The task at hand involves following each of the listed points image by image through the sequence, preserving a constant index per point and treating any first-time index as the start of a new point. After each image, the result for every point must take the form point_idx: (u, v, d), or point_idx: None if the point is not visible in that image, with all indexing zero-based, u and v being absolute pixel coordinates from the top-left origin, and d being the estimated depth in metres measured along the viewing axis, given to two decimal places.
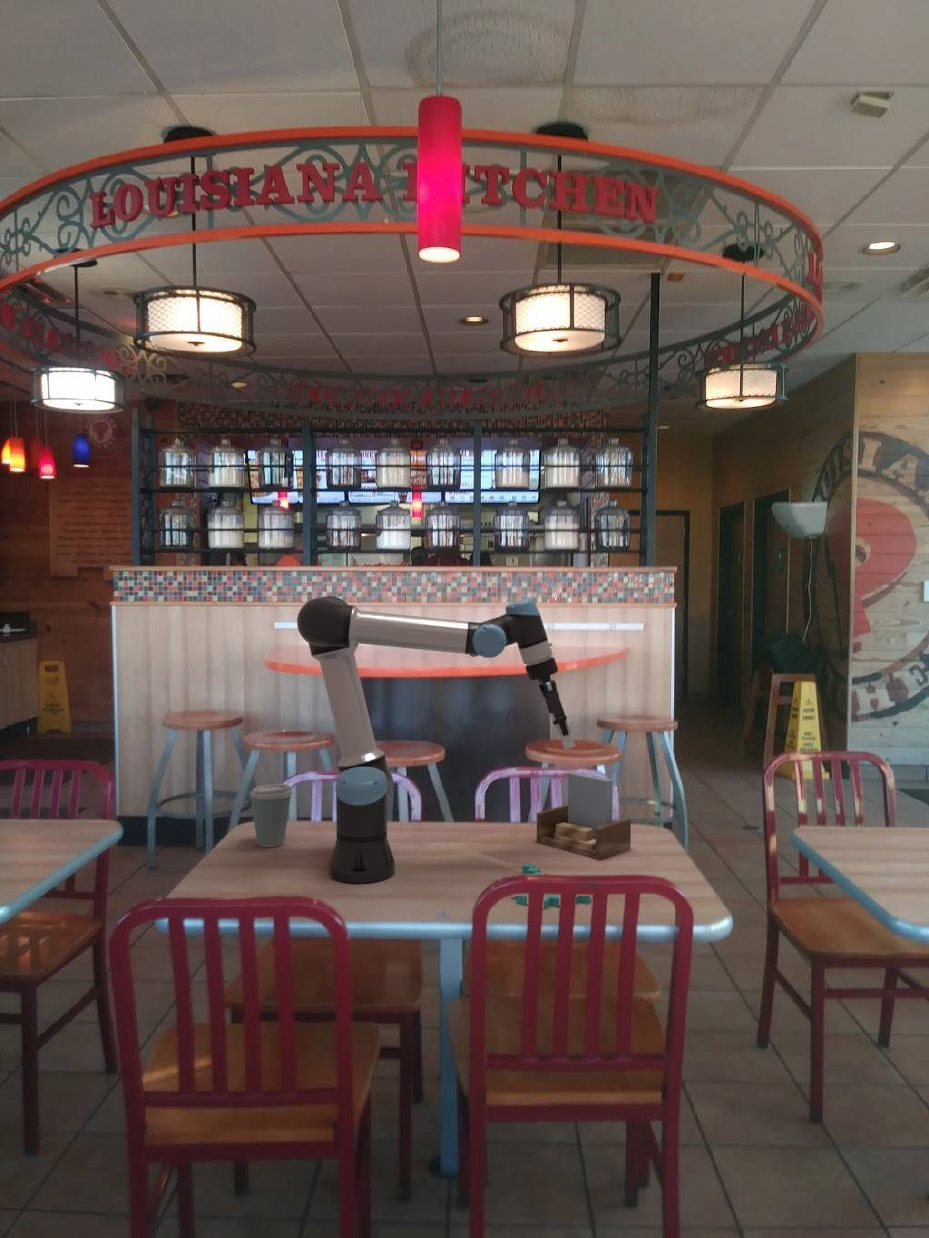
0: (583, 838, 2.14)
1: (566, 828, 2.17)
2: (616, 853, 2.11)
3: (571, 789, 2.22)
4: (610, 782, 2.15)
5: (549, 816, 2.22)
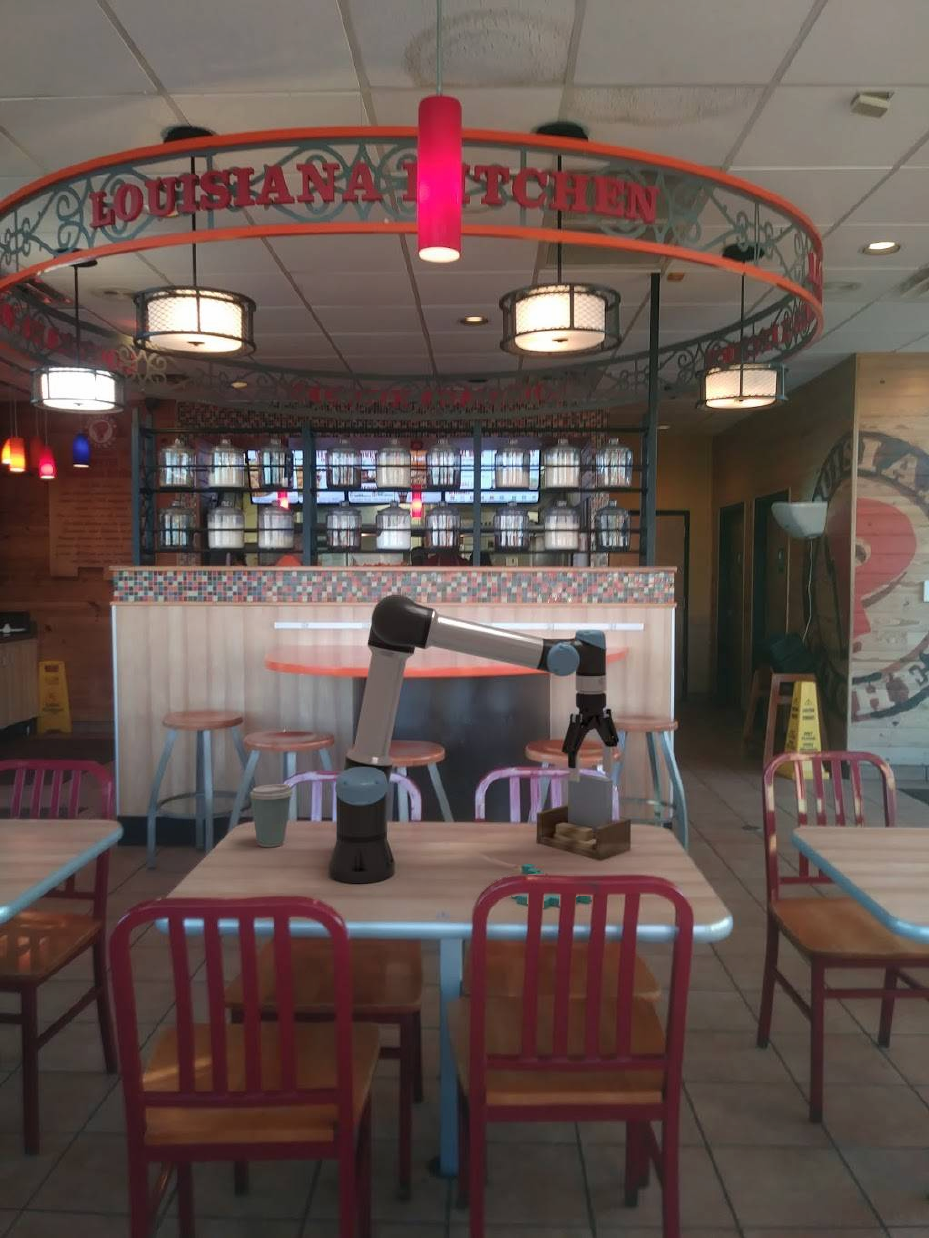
0: (583, 838, 2.14)
1: (566, 828, 2.17)
2: (616, 853, 2.11)
3: (571, 789, 2.22)
4: (610, 782, 2.15)
5: (549, 816, 2.22)
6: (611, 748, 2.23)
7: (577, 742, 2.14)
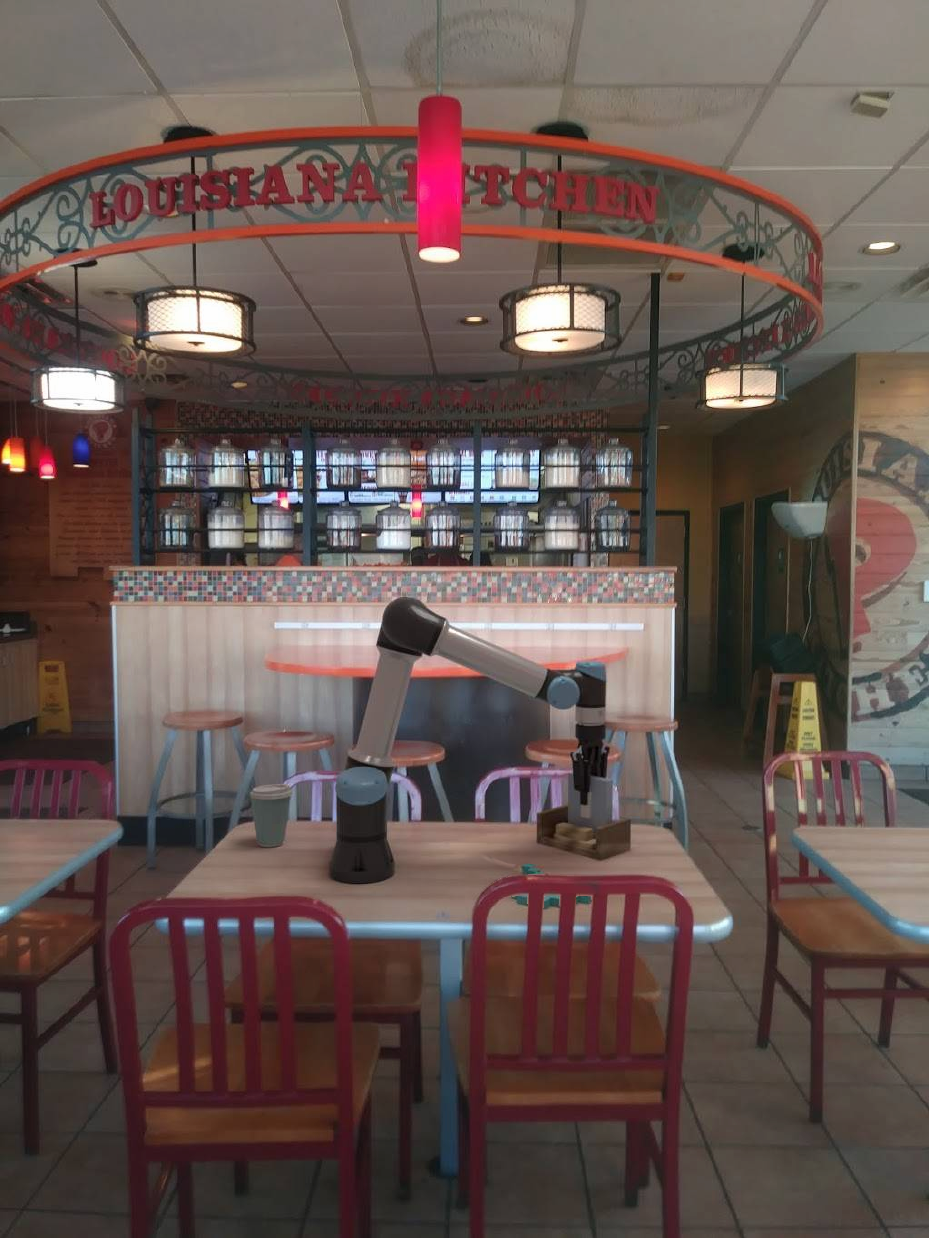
0: (583, 838, 2.14)
1: (566, 828, 2.17)
2: (616, 853, 2.11)
3: (571, 789, 2.22)
4: (610, 782, 2.15)
5: (549, 816, 2.22)
6: None
7: (585, 779, 2.17)
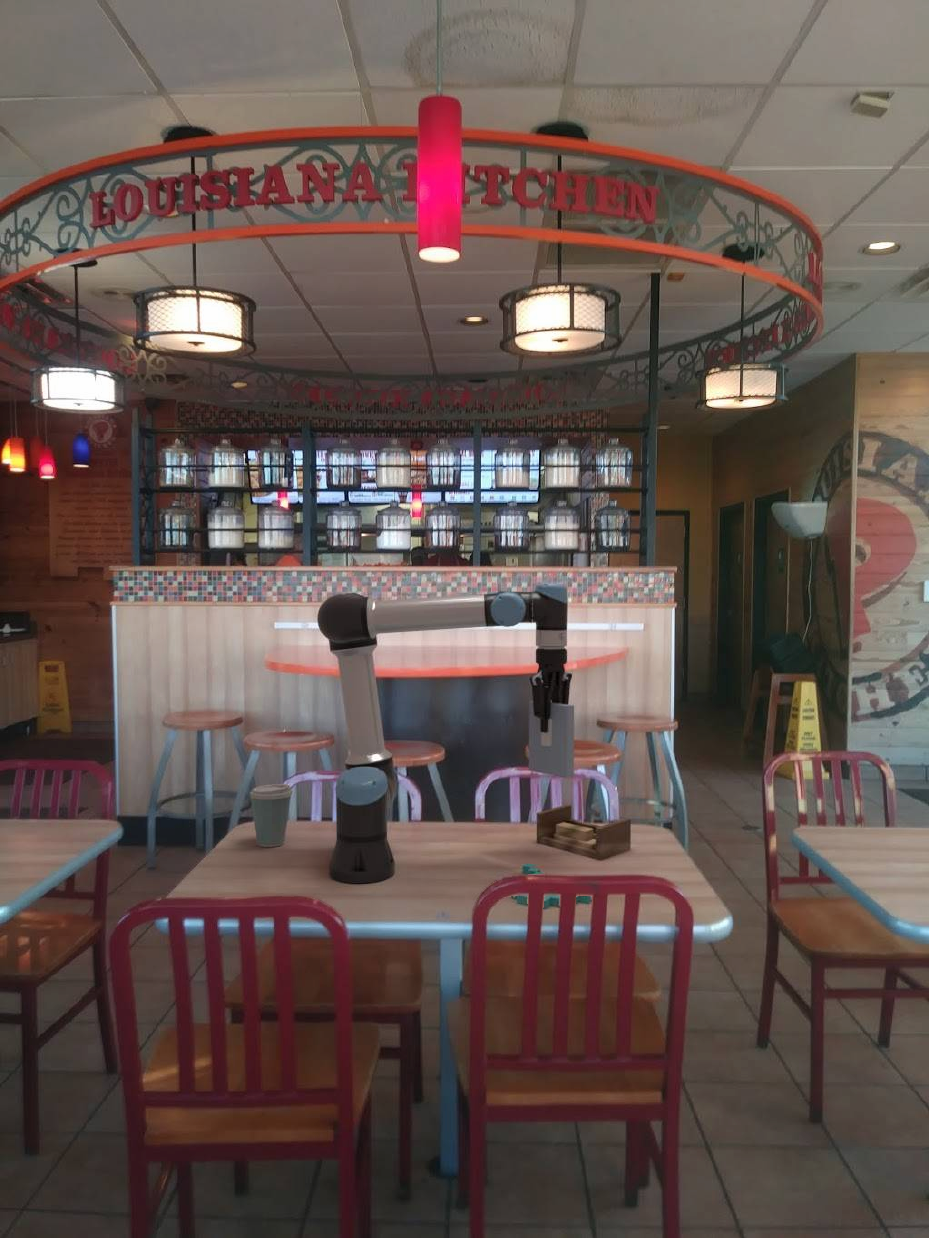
0: (583, 838, 2.14)
1: (566, 828, 2.17)
2: (616, 853, 2.11)
3: (532, 717, 2.14)
4: (571, 708, 2.07)
5: (549, 816, 2.22)
6: None
7: (546, 705, 2.08)
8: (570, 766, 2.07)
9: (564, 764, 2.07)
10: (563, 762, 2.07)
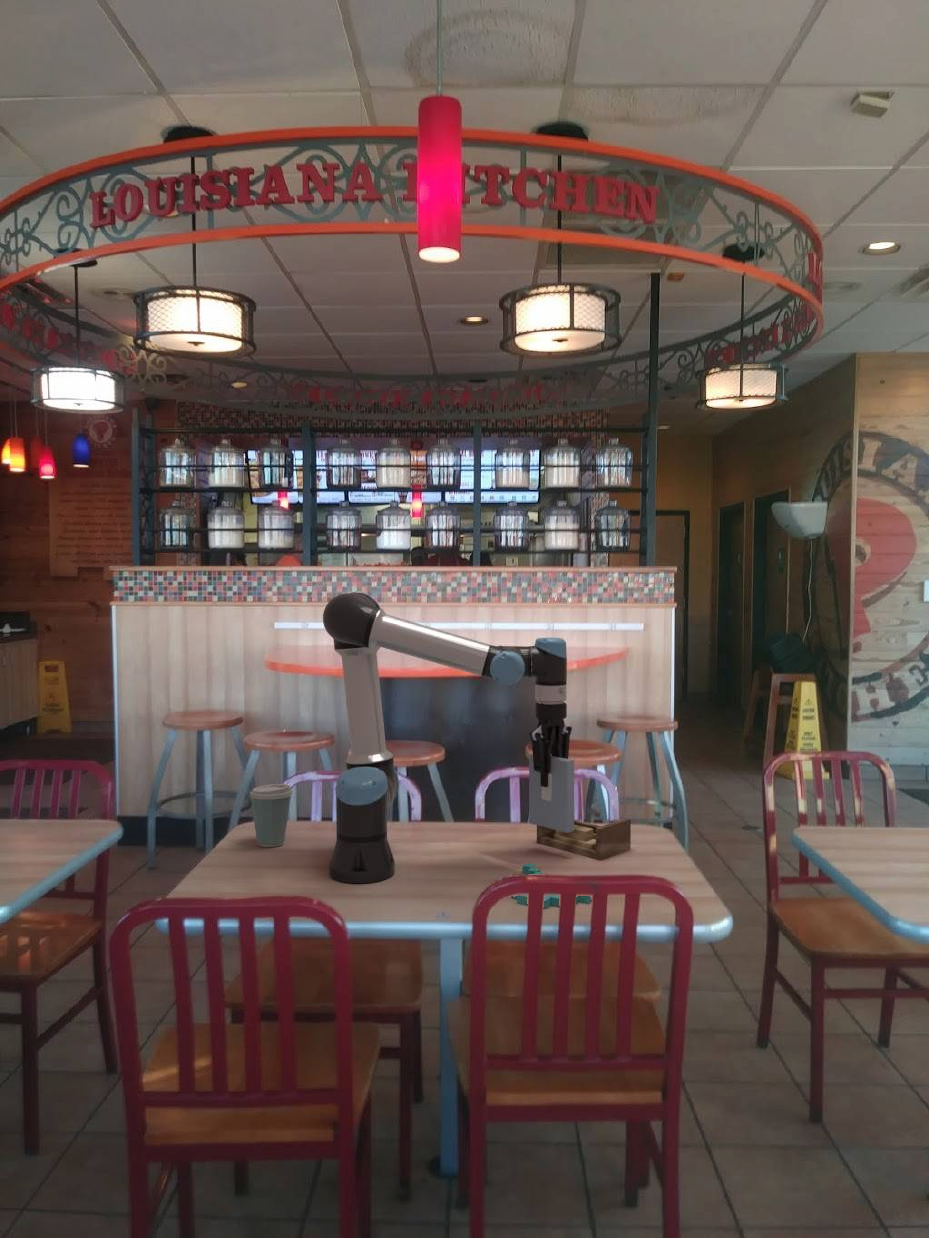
0: (583, 838, 2.14)
1: None
2: (616, 853, 2.11)
3: (532, 771, 2.14)
4: (571, 762, 2.07)
5: None
6: None
7: (546, 760, 2.09)
8: (570, 821, 2.08)
9: (565, 819, 2.07)
10: (563, 816, 2.08)
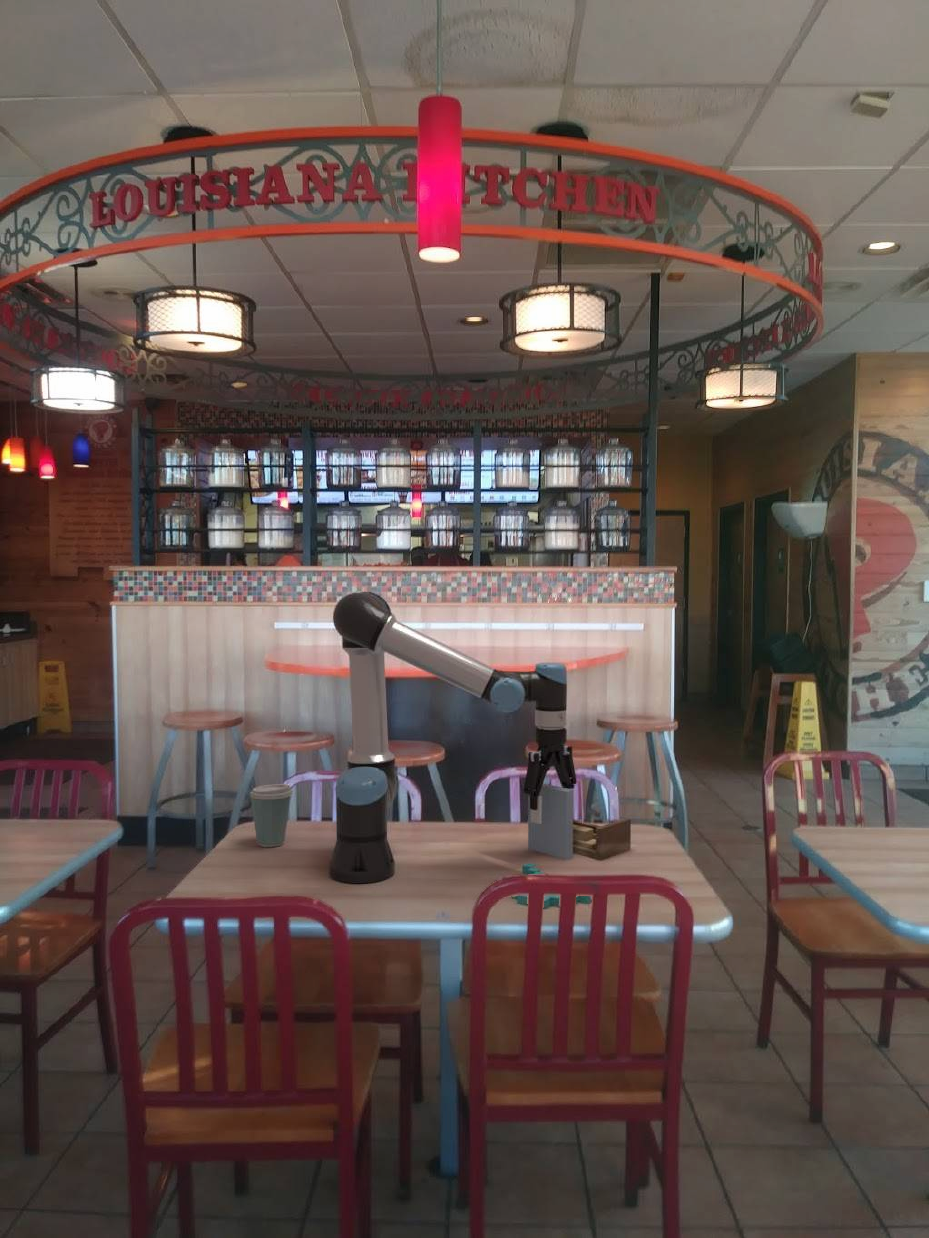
0: (583, 838, 2.14)
1: None
2: (616, 853, 2.11)
3: None
4: (570, 792, 2.08)
5: None
6: None
7: (538, 782, 2.07)
8: (569, 850, 2.08)
9: (564, 849, 2.08)
10: (562, 846, 2.08)
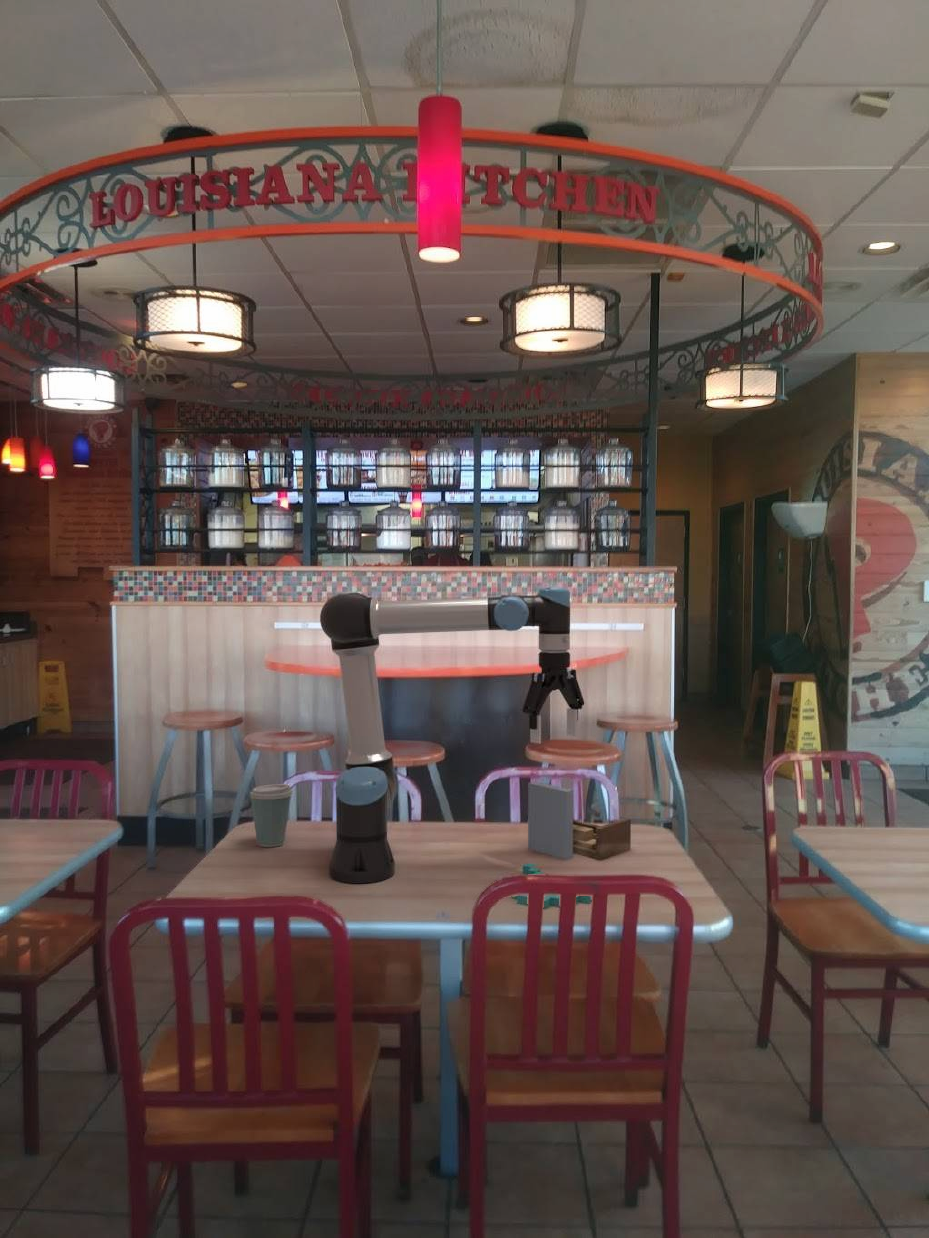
0: (583, 838, 2.14)
1: None
2: (616, 853, 2.11)
3: (531, 799, 2.15)
4: (570, 792, 2.08)
5: None
6: (576, 710, 2.15)
7: (539, 702, 2.06)
8: (569, 850, 2.08)
9: (564, 849, 2.08)
10: (562, 846, 2.08)
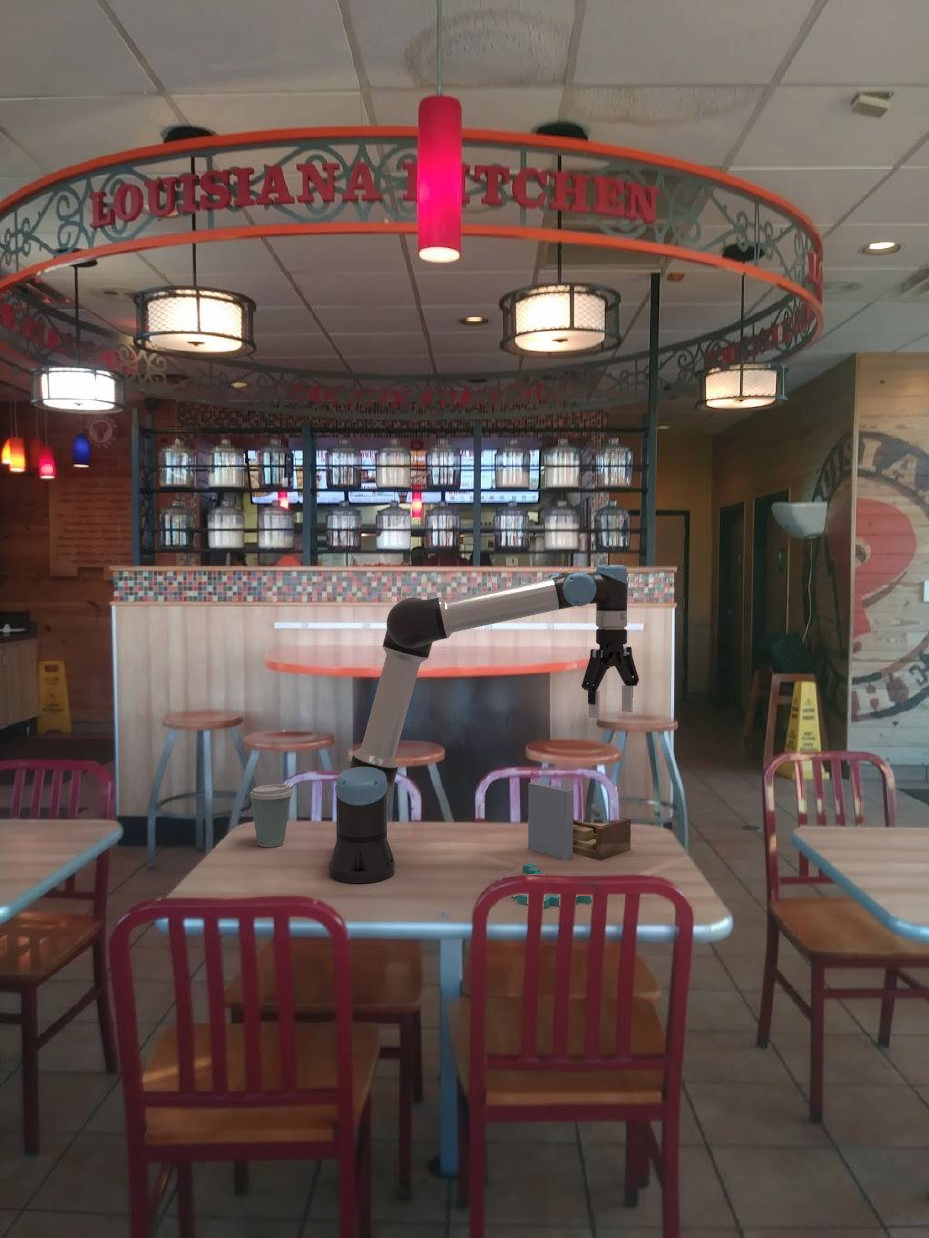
0: (583, 838, 2.14)
1: None
2: (616, 853, 2.11)
3: (531, 799, 2.15)
4: (570, 792, 2.08)
5: None
6: (631, 687, 2.18)
7: (597, 677, 2.09)
8: (569, 850, 2.08)
9: (564, 849, 2.08)
10: (562, 846, 2.08)
